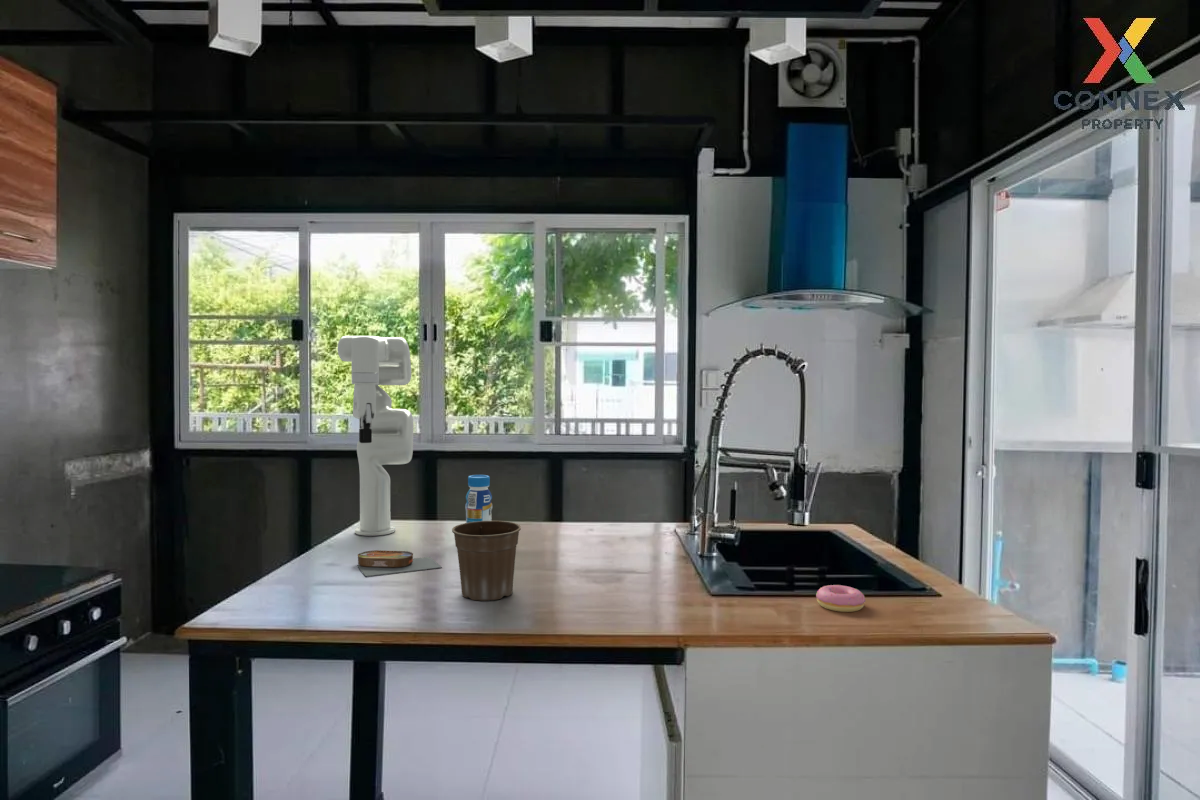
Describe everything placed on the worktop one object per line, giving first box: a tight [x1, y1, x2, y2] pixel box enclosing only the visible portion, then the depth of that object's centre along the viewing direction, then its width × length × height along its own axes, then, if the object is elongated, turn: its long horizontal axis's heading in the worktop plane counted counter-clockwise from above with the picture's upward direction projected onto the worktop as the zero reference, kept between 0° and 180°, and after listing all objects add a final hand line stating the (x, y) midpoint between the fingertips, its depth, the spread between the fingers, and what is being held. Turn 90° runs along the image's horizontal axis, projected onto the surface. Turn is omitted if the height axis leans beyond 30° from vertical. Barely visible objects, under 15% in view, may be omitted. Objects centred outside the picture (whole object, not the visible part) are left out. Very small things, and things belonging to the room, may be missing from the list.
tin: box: [357, 549, 414, 568], centre depth 205 cm, size 15×3×8 cm
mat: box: [356, 556, 443, 577], centre depth 204 cm, size 12×20×1 cm, turn 118°
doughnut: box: [815, 584, 866, 613], centre depth 174 cm, size 11×11×4 cm
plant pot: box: [451, 520, 522, 602], centre depth 180 cm, size 16×16×16 cm
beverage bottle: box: [464, 474, 493, 523], centre depth 237 cm, size 8×8×20 cm
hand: (365, 442), depth 217 cm, fingers closed
